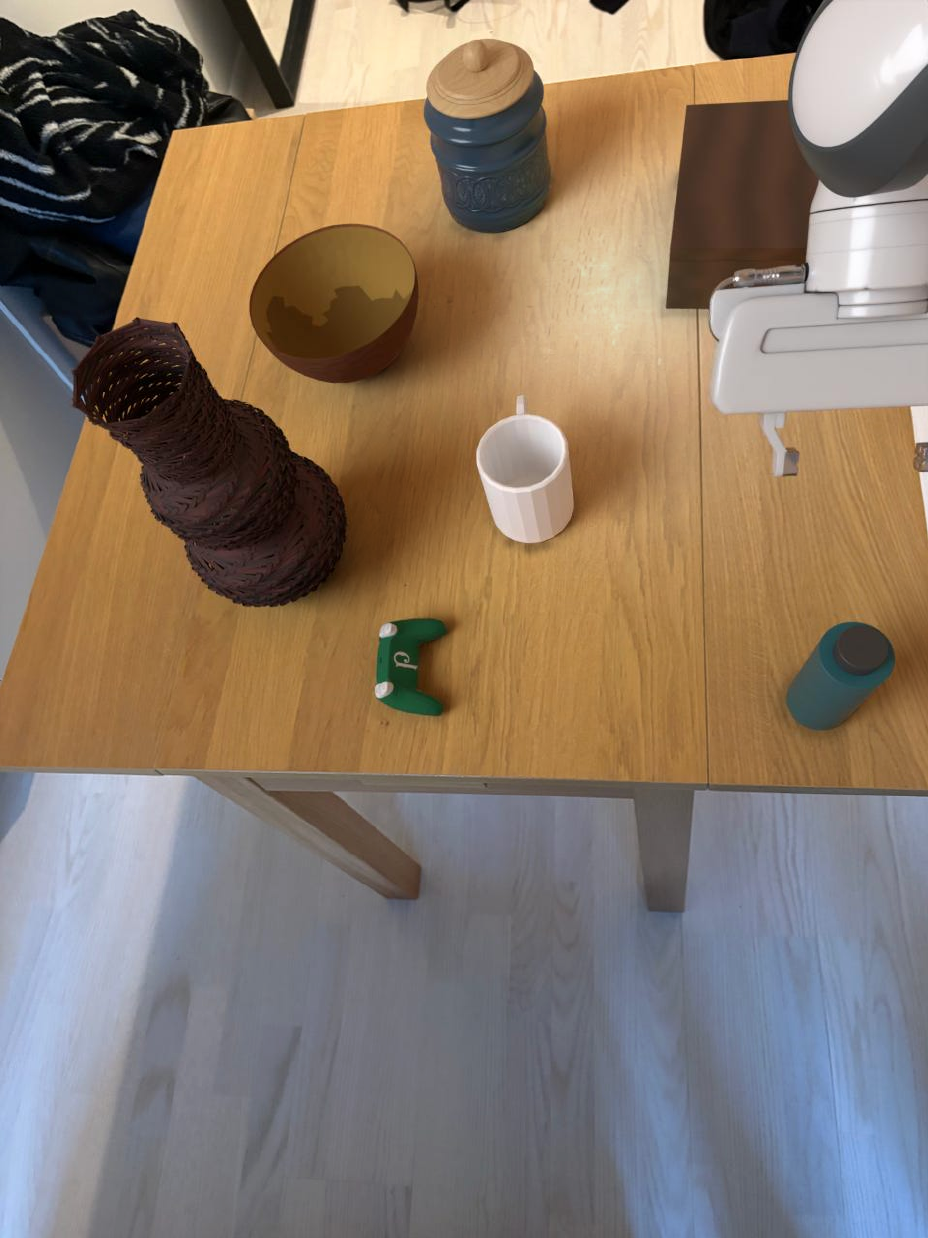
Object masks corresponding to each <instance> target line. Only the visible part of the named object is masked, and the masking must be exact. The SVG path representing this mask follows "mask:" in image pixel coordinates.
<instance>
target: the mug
mask: <svg viewBox="0 0 928 1238" xmlns="http://www.w3.org/2000/svg"><path fill="white" fill-rule="evenodd" d="M515 405H516V407H515V411H516V414H513V415H510V416H508V417H505V418H503V419H500V420H499V421H497V422H496V423H495V424H493V425H491V426H490V427H488V428H487V430H486V431H485V433H484V434H483V436H482V437H481V438H480V439H479V443H478V444H477V445H478V446H477V448H476V454H475V455H476V459H475V460H476V461H475V462H476V466H477V471H478V473H479V477H480V480H481V482H482V483H481V484H482V486H483V489H484V493H485V496H486V500H487V504H488V507H489V510H490V513H491V517H492V519H493V522H494V524H495V526H496V527H497V528H498V530H499V531H500V532H501V533H502V534H503V535H504V536H506V537H508V538H509V539H511V540H512V541H514V542H519V543H524V544H534V543H535V544H537V543H542V542H545V541H548V540H550V539H553V538H554V537H555V536H557V535H558V534H559V533H561V532H562V531H563V530H565V529H566V526H567V525H568V524H569V523H570V521H571V519H572V516H573V512H574V509H575V502H574V490H573V482H572V481H573V480H572V471H571V462H570V460H571V459H570V450H569V443H568V440H567V437H566V435H565V432H564V430H563V429H562V428H561V427H560V426H559V425H557V424H556V422H554V421H553V420H552V419H549V418H547V417H544V415H540V414H539V415H538V414H534V413H533V414H532V413H530V411H529V402H528V401H527V399H526V396H525V395H523V394H521V395H517V397H516V404H515Z"/></svg>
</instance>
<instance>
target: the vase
mask: <svg viewBox="0 0 928 1238" xmlns="http://www.w3.org/2000/svg"><path fill="white" fill-rule="evenodd" d="M94 341H95V342H94V343H93V345H92V346H91V347H90V348H89V350H88V351H87V352H86V353H85V355H84V356H83V357H82V359H81V360H80V361H79V362H78V364H77V365H76V366H75V367H74V369H72V370H70V372H71V375H72V376H73V377H72V378H73V381H72V382H73V383H72V398H71V401H72V405H71V407H72V408H74V409H77V410H79V411H80V412H82V414H84V415H85V417H86V418H87V419H88V420H87V421H88V422H90V423H91V425H93V426H98V427H99V428H100V427H101V428H102V429H103V430H107V431H109V432H108V434H109V435H108V436H109V437H110V438H111V439H112V440H114V441H116V442H118V443H119V444H120V445H121V446H122V447H124V448H126V449H127V450H130V451H131V452H132V453H133V455H135V456H136V458H137V461H139V463H141V464H142V465H141V467H140V468H141V469H140V471H141V473H140V474H139V479H140V482H139V484H140V486H141V488H142V491H143V493H144V496H143V497H144V498H145V499H146V503H147V504H148V505H149V509H150V513H151V515H153V516H154V519H155V520H156V521H157V522H158V523H159V522H160V524H161V525H162V526H164V527H166V528H169V529H170V532H171V533H172V534H174V535H176V536H177V538H178V539H180V540H181V541H184V544H185V545H184V546H183V548H184V550H185V553H186V555H185V557H186V558H187V561H188V562H189V564H190V566H191V570H192V571H193V572H195V573H196V574H197V577H199V578H201V579H200V581H201V583H203V584H204V585H206V586H207V588H206V589H208V591H211V592H215V594H216V595H217V596H219V597H224V598H225V599H227V600H231V602H232V603H233V604H234V605H241V606H242V607H245V608H251V607H252V606H253V608H261V607H262V608H266V607H269V608H277V607H278V606H280V607H285V606H286V605H288V604H290V603H295V602H297V600H299V599H301V598H306V597H307V596H308V595H309V594H310V593H312V592H315V591H317V590H318V589H319V588H320V587H321V585H322V584H324V583H326V582H327V580H328V579H329V578H330V576H331V574H333V573H334V571H335V570H336V567H337V564H338V562H340V561H341V558H342V554H343V552H344V547H345V543H346V541H347V531H348V517H347V511H346V506H345V502H344V499H343V496H342V495H341V494H340V492H339V488H338V486H337V484H335V483H334V482H333V480H332V477H331V476H330V475H329V474H328V473H327V472H326V471H325V469H324V468H323V467H322V466H321V465H318V464H317V463H315V461H314V460H312V459H310V458H308V457H306V456H303V455H300V454H298V453H297V452H294V451H292V449H291V447H290V443H289V440H288V437H287V436H286V435H285V433H284V431H283V429H282V427H280V426H278V425H276V422H275V421H274V420H273V419H272V418H271V417H270V416H269V415H267V414H266V413H265V412H264V410H262V409H261V408H259V407H256V406H254V405H253V404H251V403H249V402H246V401H241V400H239V399H228V398H223V396H222V395H220V394H219V392H218V391H217V389H216V387H215V386H214V385H213V384H212V382H211V378H210V377H209V376H208V371H207V370H206V369H205V368H204V367H203V365H202V364H201V363H200V362H199V360H197V357H196V355H195V353H194V351H193V348H191V345H190V343H189V341H188V339H186V335H185V334H184V332H183V330H181V327H180V325H179V323H178V322H174V321H172V322H164V321H159V320H152V319H144V318H140V317H138V316H136V317H135V318H134V319H132V320H131V322H128V323H126V324H124V325H122V326H120V327H118V328H115V329H113V330H111V331H108V332H106V333H104V334H101V335H96V337H95V338H94Z"/></svg>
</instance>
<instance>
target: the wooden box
mask: <svg viewBox="0 0 928 1238" xmlns="http://www.w3.org/2000/svg"><path fill="white" fill-rule="evenodd" d="M818 182H819V179H818V177H817V176H816V175H815V174H814V172H813V171H812V170H811V168H810V167H809V165H808V164H807V162H806V160H805V159H804V157H803V155H802V153H801V151H800V149H799V147H798V145H797V142H796V140H795V137H794V134H793V130H792V127H791V122H790V115H789V108H788V99H783V100H782V99H779V100H778V99H777V100H761V101H760V100H759V101H739V102H738V101H737V102H717V103H716V102H715V103H699V104H696V103H695V104H686V105H685V113H684V123H683V133H682V141H681V149H680V158H679V167H678V176H677V185H676V194H675V202H674V210H673V211H674V212H673V219H672V220H673V221H672V229H671V238H670V247H669V258H668V273H667V286H666V299H665V309H668V310H669V309H670V310H672V309H675V310H676V309H677V310H709V302H710V298H711V295H712V293H713V291H714V290H715V288H716V287H717V286H718V285H719V284H720V283H721V282H722V281H724V280H725V279H727V278H729V277H733V276H734V273H735V272H736V271H739V270H743V269H756V270H759V269H762V270H763V269H769V268H771V269H772V268H774V267H779V266H789V265H802V264H805V263H806V254H807V242H808V230H809V218H810V208H811V204H812V201H813V198H814V195H815V193H816V190H817V186H818ZM759 286H773V285H771V284H770V285H755V286H754V287H759ZM733 288H739V287H734V285H733V283H731V284H729V285H727V286H726V287H724V288H723V289H733ZM804 293H806V291H804Z"/></svg>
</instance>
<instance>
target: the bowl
mask: <svg viewBox="0 0 928 1238" xmlns="http://www.w3.org/2000/svg"><path fill="white" fill-rule="evenodd" d="M419 297H420V295H419V279H418V273H417V268H416V264H415V261H414V259H413V257H412V254H411V252H410V251H409V249H408V247H407V246H406V245H405V244H404V243H403V242H402V240H400V238H398V237H397V236H396V235H394V234H393V233H391V232H389V231H387V230H385V229H384V228H381V227H378V226H373V225H370V224H364V223H341V224H333V225H328V226H324V227H321V228H318V229H315V230H313V231H310V232H308V233H305V234H304V235H302V236H299V237H298V238H296V239H294V240H292V241H291V242H289V243H288V244H286V245H285V246H283V248H281V249H280V250H279V251H278V252H276V254H274V255H273V256H272V257H271V259H269V261H268V262H267V263H266V264H265V265H264V267H263V268H262V270H261V271H260V272H259V274H258V276H257V278H256V280H255V282H254V283H253V286H252V289H251V293H250V296H249V303H248V304H249V305H248V313H249V316H250V322H251V325H252V329H254V332H255V333H256V335H257V337H258V339H259V340H260V342H261V343H262V344H263V346H264V347H265V348H266V349H267V351H269V352H270V353H271V355H272V356H274V358H276V359H277V360H278V361H280V362H281V364H283V365H284V366H286V367H288V368H289V369H291V370H292V371H294V372H296V373H298V374H300V375H302V376H304V377H307V378H310V379H312V380H316V381H317V382H323V383H330V384H350V383H356V382H359V381H363V380H365V379H368V378H370V377H373V376H375V375H376V374H378V373H380V372H381V371H382V370H384V369H385V368H387V367H389V365H390V364H391V363H392V362H393V361H394V360H395V359H396V358H397V357H398V356H399V355H400V353H401V352H402V350H403V349H404V347H405V346H406V344H407V342H408V340H409V338H410V335H411V333H412V331H413V328H414V326H415V322H416V318H417V313H418V307H419Z"/></svg>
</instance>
